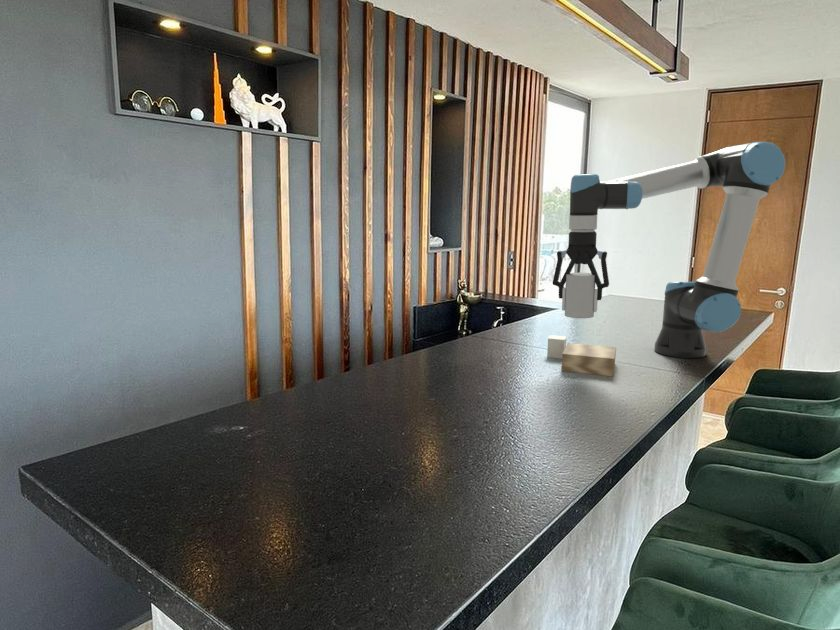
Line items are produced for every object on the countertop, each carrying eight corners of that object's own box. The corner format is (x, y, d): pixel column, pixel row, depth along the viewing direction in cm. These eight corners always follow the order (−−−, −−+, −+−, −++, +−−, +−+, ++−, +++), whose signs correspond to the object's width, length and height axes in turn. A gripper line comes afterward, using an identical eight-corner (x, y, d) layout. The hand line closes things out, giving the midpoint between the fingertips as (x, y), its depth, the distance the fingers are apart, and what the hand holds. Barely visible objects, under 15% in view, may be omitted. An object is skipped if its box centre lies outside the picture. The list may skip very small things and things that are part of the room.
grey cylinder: (590, 313, 171) (592, 272, 169) (596, 318, 163) (598, 276, 161) (562, 312, 172) (564, 272, 170) (566, 318, 164) (568, 276, 162)
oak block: (614, 363, 173) (616, 347, 172) (613, 376, 160) (614, 358, 159) (566, 358, 178) (567, 343, 177) (561, 370, 165) (562, 353, 164)
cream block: (565, 355, 183) (566, 336, 182) (563, 358, 178) (564, 339, 177) (549, 353, 185) (550, 335, 183) (547, 357, 180) (548, 338, 179)
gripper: (622, 230, 163) (618, 310, 167) (547, 230, 170) (544, 306, 174) (621, 231, 156) (617, 314, 160) (542, 231, 163) (540, 310, 168)
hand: (579, 310), depth 167 cm, fingers closed on grey cylinder, 8 cm apart
